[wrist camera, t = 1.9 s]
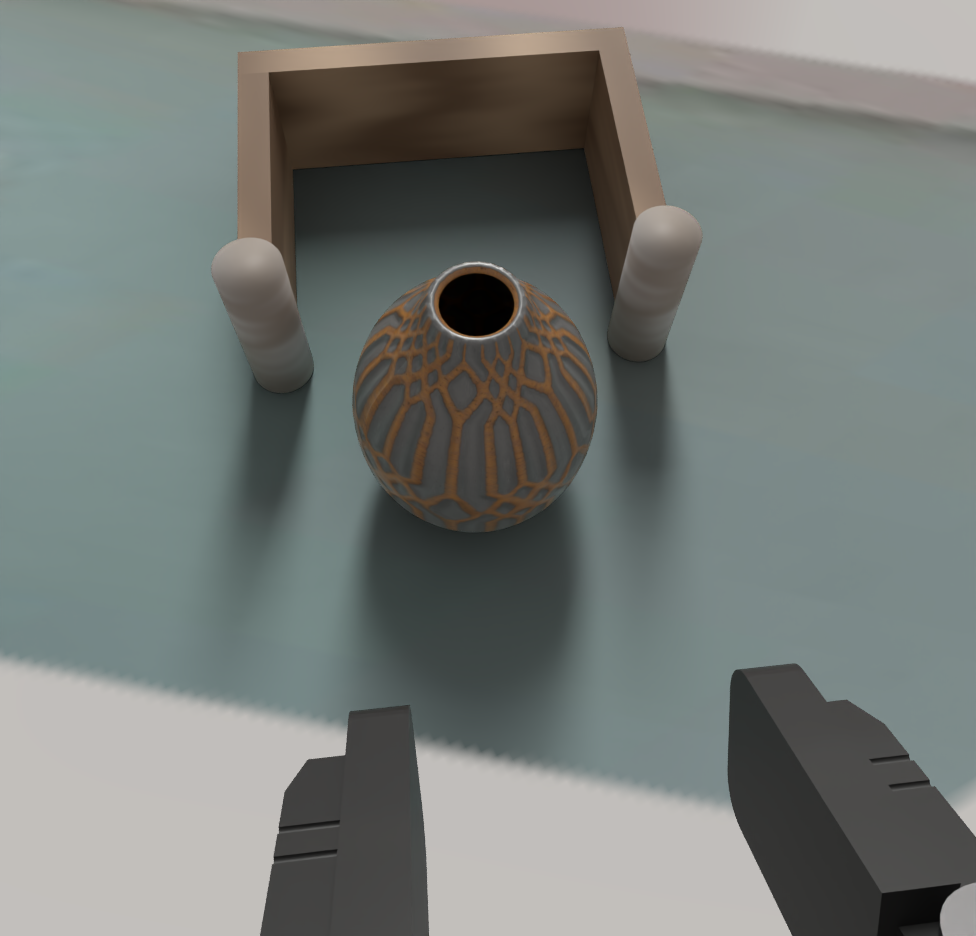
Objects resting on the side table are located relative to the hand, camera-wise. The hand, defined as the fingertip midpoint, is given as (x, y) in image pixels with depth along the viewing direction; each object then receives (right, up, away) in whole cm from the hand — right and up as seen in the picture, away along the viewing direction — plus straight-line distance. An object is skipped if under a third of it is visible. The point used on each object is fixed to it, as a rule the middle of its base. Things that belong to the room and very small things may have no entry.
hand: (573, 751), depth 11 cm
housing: (-2, +12, +22) cm, 25 cm away
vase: (-1, +4, +18) cm, 19 cm away
